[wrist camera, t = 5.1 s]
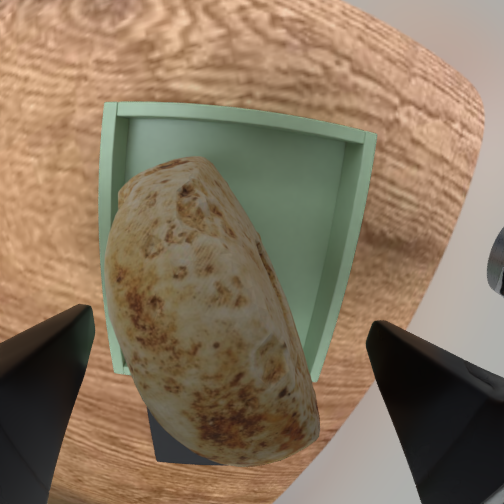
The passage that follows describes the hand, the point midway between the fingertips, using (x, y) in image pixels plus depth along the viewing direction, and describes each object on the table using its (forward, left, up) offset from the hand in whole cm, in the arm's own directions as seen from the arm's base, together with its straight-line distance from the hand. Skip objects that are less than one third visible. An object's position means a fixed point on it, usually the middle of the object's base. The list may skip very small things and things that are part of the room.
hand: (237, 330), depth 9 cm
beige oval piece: (0, 0, -7) cm, 7 cm away
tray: (0, 0, -7) cm, 7 cm away
